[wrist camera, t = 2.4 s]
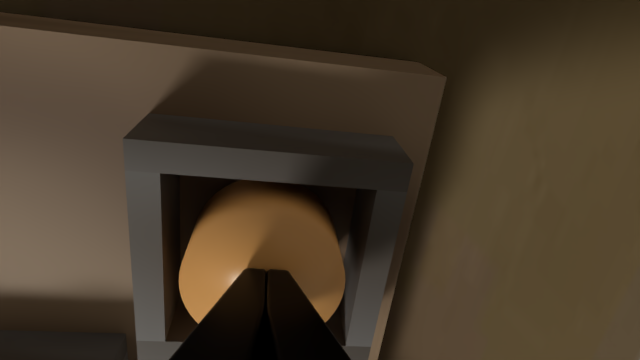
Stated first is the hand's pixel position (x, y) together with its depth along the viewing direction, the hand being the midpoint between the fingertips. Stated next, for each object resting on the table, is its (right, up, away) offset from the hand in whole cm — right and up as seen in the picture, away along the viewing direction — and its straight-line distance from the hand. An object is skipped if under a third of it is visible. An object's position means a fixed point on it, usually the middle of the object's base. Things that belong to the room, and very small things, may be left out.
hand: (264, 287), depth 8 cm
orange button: (0, +1, +1) cm, 2 cm away
